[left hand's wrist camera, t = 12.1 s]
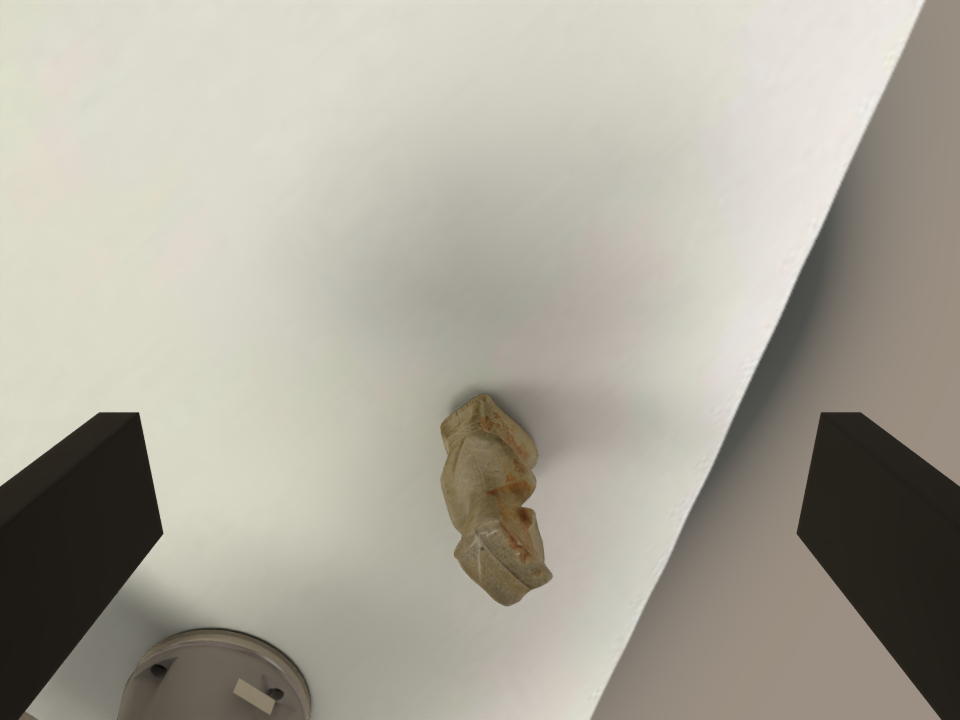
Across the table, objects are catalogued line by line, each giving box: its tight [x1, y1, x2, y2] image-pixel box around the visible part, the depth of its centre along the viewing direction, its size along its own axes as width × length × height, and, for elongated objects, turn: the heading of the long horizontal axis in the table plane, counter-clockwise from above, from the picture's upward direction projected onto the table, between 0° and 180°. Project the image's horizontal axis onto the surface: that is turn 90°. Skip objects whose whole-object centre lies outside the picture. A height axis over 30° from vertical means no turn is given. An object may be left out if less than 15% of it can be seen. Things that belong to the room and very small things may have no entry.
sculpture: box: [440, 394, 553, 606], centre depth 39 cm, size 6×7×15 cm
